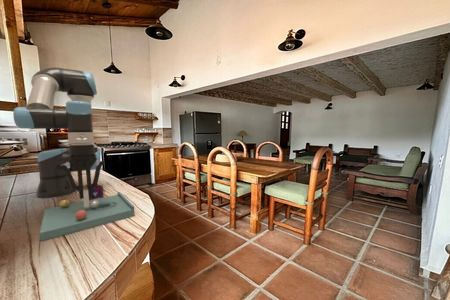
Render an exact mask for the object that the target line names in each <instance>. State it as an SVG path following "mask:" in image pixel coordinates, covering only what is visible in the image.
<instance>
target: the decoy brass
mask: <svg viewBox="0 0 450 300" xmlns="http://www.w3.org/2000/svg"><path fill="white" fill-rule="evenodd" d="M69 204H71V202H70V200H69V199H64V198H63V199H62V200H60V201H59V203H58V205H59V206H60V207H62V208H66V207H68V206H69Z"/></svg>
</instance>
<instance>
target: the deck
mask: <svg viewBox="0 0 450 300" xmlns="http://www.w3.org/2000/svg"><path fill="white" fill-rule="evenodd" d="M93 200H97V201H98V202H99V206H98V207H97V208H90V206H89V207H84V200H82V201H78V202H73V203H70V204H69V206H68V207H66V208H62V207H60V205H59V206H54V207H48V208H44V209H43V210H44V212H43V216H42V220H41V224H40V225H41V227H40V231H39V237H40V242H43V241H47V240H50V239H54V238H59V237H61V236H65V235H68V234H73V233H77V232H81V231H84V230H87V229H91V228H95V227H98V226H102V225H105V224H110V223H113V222H116V221H121V220H124V219H128V218H132V217H135V206H134V204H132V202H130V201H129V200H128V198H126V196H124V195H123V194H122V193H121V192H120V191H118V192H117V194H115V195H110V196H104V198H98V199H93ZM91 201H92V200H89V203H90V202H91ZM79 210H85V211H86V212H87V216H86V217H85V218H84V219H82V220H78V219H76V218H75V214H76V213H77V212H78V211H79Z"/></svg>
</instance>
